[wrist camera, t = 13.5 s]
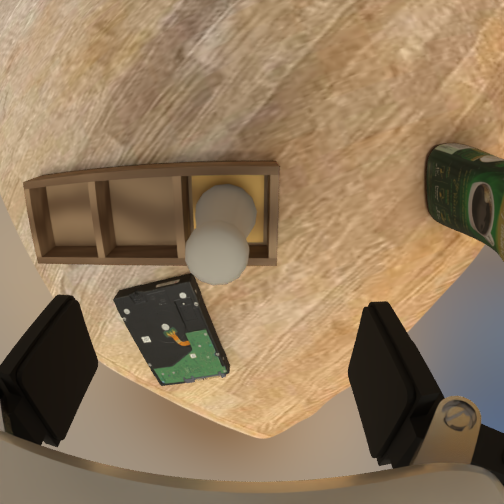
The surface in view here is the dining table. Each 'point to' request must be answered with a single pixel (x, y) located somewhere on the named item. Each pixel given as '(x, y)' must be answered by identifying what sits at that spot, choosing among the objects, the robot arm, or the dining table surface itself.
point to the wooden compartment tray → (143, 211)
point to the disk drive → (173, 330)
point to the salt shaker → (221, 234)
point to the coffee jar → (467, 192)
